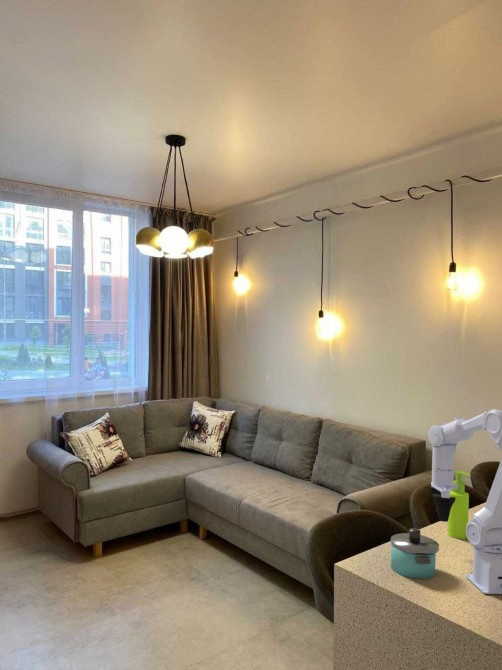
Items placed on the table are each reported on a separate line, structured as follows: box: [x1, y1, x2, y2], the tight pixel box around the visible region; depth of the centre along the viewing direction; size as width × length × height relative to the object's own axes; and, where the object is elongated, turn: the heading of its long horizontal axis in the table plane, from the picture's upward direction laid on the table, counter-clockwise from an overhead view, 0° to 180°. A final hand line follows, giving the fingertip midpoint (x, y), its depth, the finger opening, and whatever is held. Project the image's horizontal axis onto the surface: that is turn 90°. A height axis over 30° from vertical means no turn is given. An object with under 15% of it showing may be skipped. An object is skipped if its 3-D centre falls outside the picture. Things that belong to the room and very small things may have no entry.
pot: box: [390, 544, 437, 580], centre depth 131 cm, size 14×11×6 cm
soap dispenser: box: [447, 469, 472, 540], centre depth 156 cm, size 6×7×20 cm
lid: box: [390, 527, 440, 555], centre depth 131 cm, size 12×12×4 cm
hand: (441, 516), depth 142 cm, fingers open, 7 cm apart
